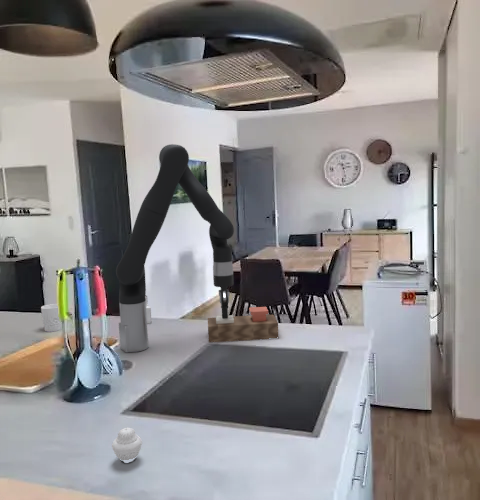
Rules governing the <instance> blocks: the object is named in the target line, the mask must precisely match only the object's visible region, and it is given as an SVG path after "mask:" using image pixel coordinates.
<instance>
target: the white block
mask: <svg viewBox="0 0 480 500" xmlns="http://www.w3.org/2000/svg"><path fill="white" fill-rule="evenodd" d="M233 317H234V315H233V314H232V315H229V314H228V318H225V319H223V318H222V315H216V316H215V318H216V324H224V323H234V318H233Z"/></svg>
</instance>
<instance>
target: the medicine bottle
mask: <svg viewBox="0 0 480 500" xmlns="http://www.w3.org/2000/svg"><path fill="white" fill-rule="evenodd" d="M146 314H147V325H149V324H150V325H151V324H152V322H153V321H152V307H151V306H150V305H149V304H148V295H146Z"/></svg>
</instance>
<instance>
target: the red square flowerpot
mask: <svg viewBox="0 0 480 500" xmlns="http://www.w3.org/2000/svg"><path fill="white" fill-rule="evenodd" d="M248 310H249V311H248V312H249V314H250V316H252V322H260V321H266V315H269V310H268V308H267V306H253V307H251V306H250V307H249V308H248Z"/></svg>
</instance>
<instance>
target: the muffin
mask: <svg viewBox="0 0 480 500" xmlns="http://www.w3.org/2000/svg"><path fill="white" fill-rule="evenodd" d="M142 445H143V440H142V438H141V437H140V436H139V435H138V434H137V433H136V430H135V429H134V428H132V427H125V428H122V429H120V430H119V431H118V433H117V437H116V438H114V440H113V442H112V444H111V447H112V450H113V452H114V454H115V456H116V458H119V459H121V460H129V459H133V458H135V457H136V456H137V455H139V453H140V451H141V450H142V449H141V448H142ZM137 457H138V456H137ZM119 459H118V460H119Z"/></svg>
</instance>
